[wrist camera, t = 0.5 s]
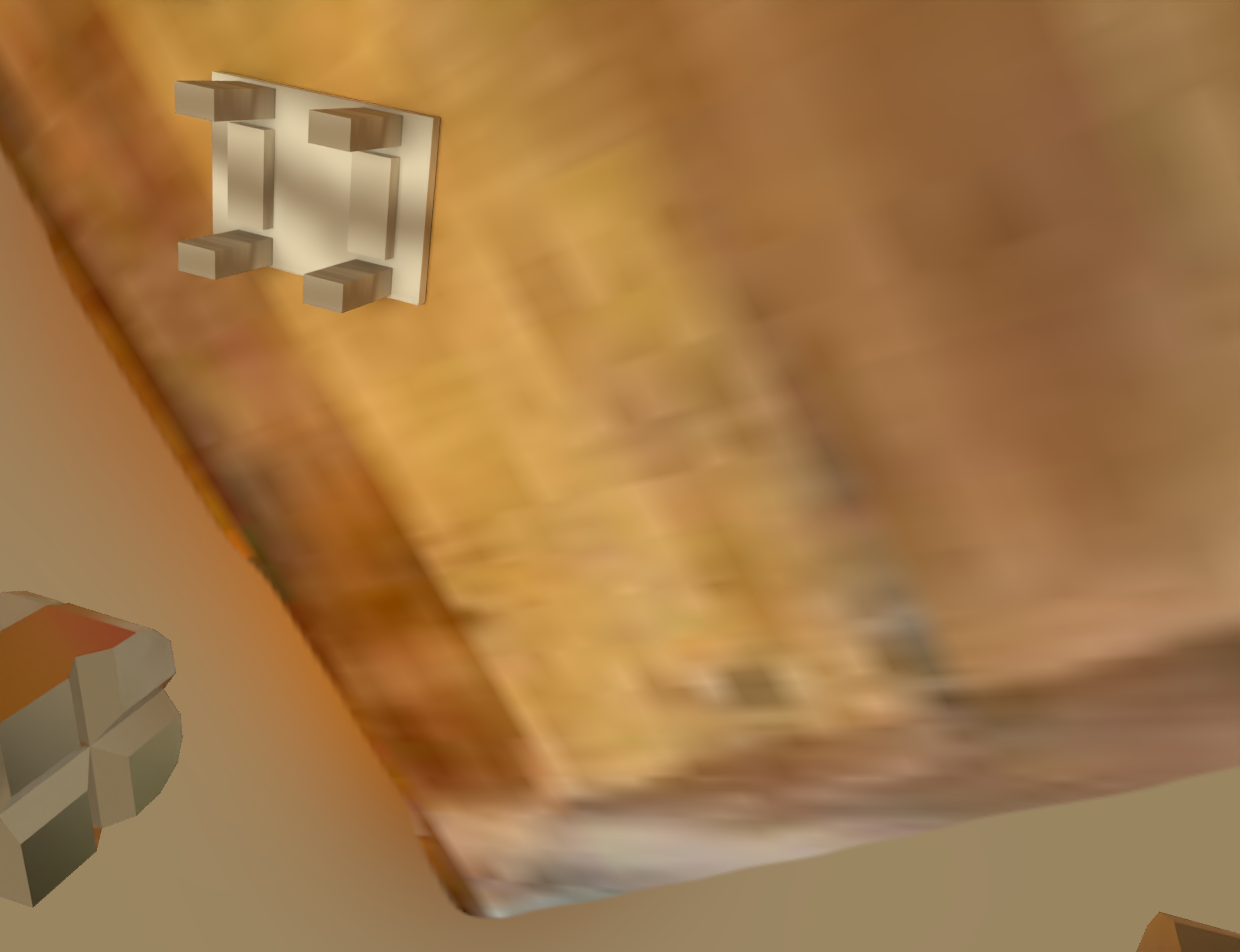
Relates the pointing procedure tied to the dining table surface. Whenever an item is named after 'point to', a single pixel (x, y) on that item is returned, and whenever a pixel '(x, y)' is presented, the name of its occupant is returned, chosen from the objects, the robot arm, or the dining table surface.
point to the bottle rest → (315, 190)
